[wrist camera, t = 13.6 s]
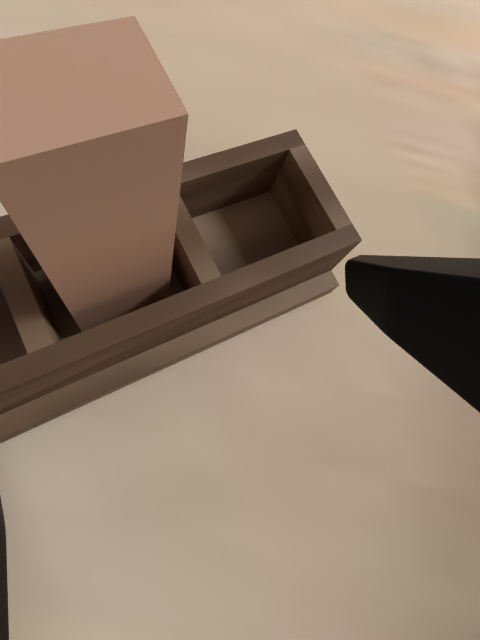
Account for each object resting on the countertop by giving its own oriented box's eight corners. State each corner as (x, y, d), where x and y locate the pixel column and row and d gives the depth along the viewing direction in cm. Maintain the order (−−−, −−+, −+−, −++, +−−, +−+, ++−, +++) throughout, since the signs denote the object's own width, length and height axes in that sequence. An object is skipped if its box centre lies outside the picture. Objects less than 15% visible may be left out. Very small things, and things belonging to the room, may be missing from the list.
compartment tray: (330, 292, 25) (371, 257, 20) (-100, 488, 18) (-189, 504, 13) (263, 172, 27) (287, 114, 22) (-158, 309, 19) (-256, 266, 15)
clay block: (168, 300, 22) (188, 114, 9) (84, 334, 20) (-20, 168, 8) (144, 252, 22) (135, 16, 10) (60, 282, 21) (-71, 51, 8)
